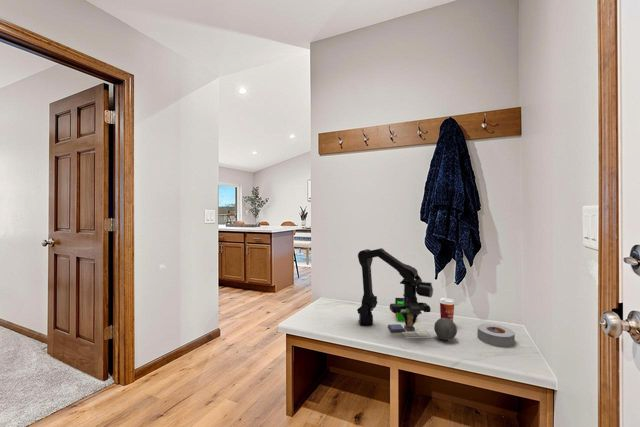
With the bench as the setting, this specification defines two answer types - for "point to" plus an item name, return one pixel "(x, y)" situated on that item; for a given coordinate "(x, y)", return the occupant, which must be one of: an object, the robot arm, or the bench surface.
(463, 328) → the bench surface
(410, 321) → the stamp
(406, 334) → the print card
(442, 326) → the decorative ball
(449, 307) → the paper cup
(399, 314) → the puzzle toy
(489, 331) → the tape roll
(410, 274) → the robot arm
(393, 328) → the ink pad
